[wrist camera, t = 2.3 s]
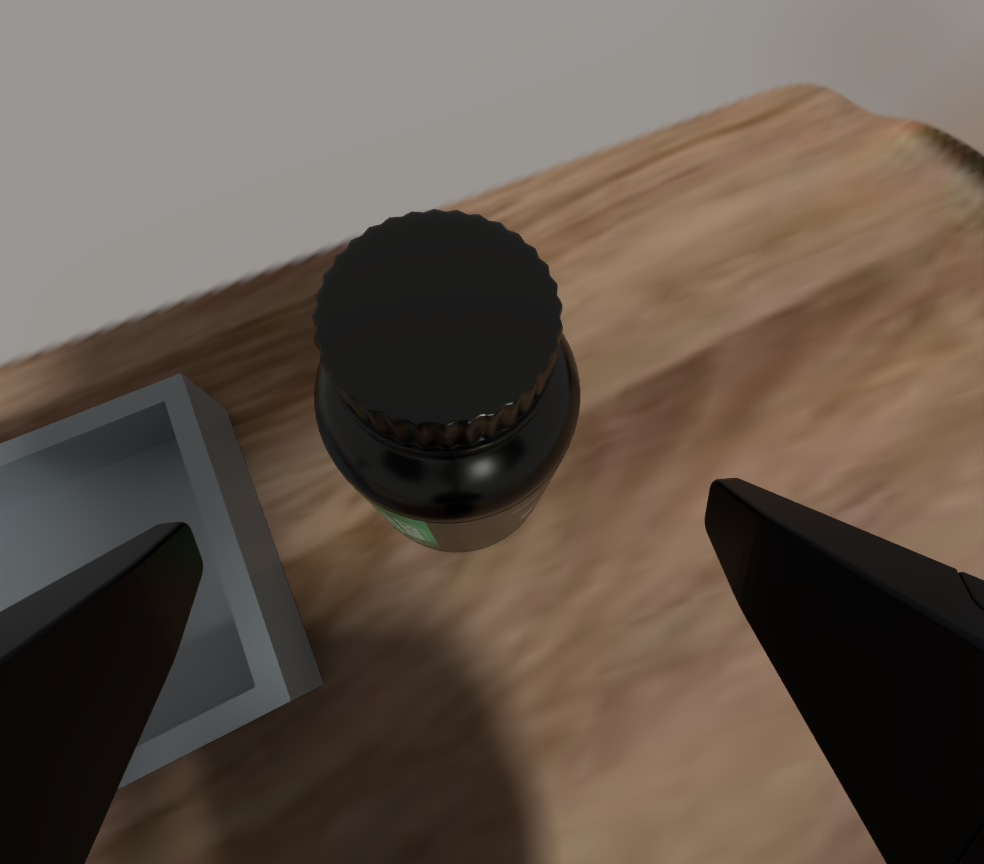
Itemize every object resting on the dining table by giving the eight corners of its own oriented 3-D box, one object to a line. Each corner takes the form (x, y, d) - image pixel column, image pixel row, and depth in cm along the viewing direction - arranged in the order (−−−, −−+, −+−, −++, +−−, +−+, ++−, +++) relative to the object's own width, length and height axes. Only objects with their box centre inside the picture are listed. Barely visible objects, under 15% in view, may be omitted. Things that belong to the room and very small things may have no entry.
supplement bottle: (427, 589, 20) (360, 565, 8) (344, 442, 22) (196, 256, 10) (575, 495, 21) (691, 363, 10) (486, 363, 23) (495, 120, 11)
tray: (324, 684, 19) (290, 700, 15) (-22, 861, 17) (-145, 923, 13) (225, 408, 22) (181, 372, 19) (-74, 531, 20) (-184, 515, 17)
